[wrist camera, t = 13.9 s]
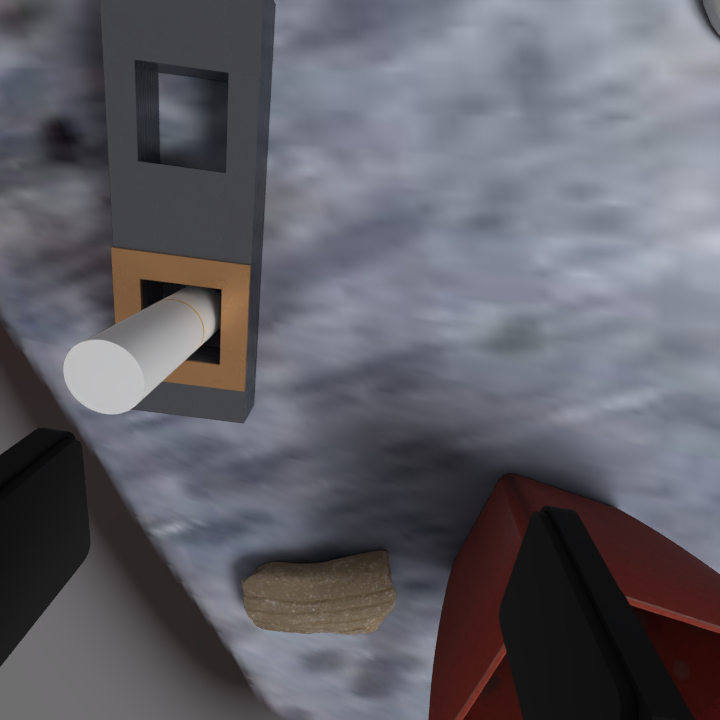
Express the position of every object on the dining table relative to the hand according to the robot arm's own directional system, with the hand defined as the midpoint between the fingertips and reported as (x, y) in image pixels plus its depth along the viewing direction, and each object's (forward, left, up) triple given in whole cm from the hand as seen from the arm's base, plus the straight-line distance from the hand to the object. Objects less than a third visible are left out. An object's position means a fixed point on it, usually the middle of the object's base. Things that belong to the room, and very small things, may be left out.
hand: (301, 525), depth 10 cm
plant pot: (+24, +21, -30) cm, 43 cm away
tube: (+4, -12, -30) cm, 33 cm away
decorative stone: (+32, +1, -30) cm, 44 cm away
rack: (-2, -12, -30) cm, 32 cm away
